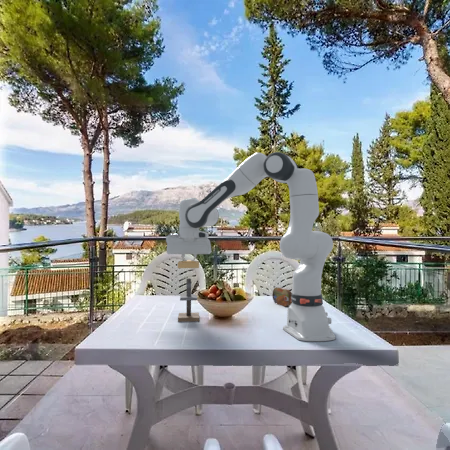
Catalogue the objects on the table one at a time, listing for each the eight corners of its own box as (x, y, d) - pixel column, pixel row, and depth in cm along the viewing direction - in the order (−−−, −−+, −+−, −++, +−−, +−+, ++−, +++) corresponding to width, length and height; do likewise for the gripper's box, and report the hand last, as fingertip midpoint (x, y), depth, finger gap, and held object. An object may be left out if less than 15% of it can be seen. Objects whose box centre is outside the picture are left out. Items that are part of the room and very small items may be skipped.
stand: (199, 321, 163) (199, 280, 162) (177, 321, 162) (177, 280, 162) (199, 315, 172) (199, 277, 171) (178, 316, 171) (178, 277, 171)
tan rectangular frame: (199, 268, 162) (199, 263, 162) (177, 268, 162) (177, 263, 162) (199, 264, 176) (199, 259, 176) (179, 264, 176) (179, 260, 176)
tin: (271, 302, 200) (271, 286, 200) (276, 301, 202) (277, 285, 202) (288, 308, 187) (288, 291, 187) (293, 307, 188) (293, 290, 188)
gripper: (165, 234, 169) (165, 265, 170) (211, 233, 171) (211, 264, 171) (166, 233, 176) (166, 263, 176) (210, 233, 177) (211, 263, 177)
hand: (189, 264), depth 173 cm, fingers closed on tan rectangular frame, 2 cm apart
